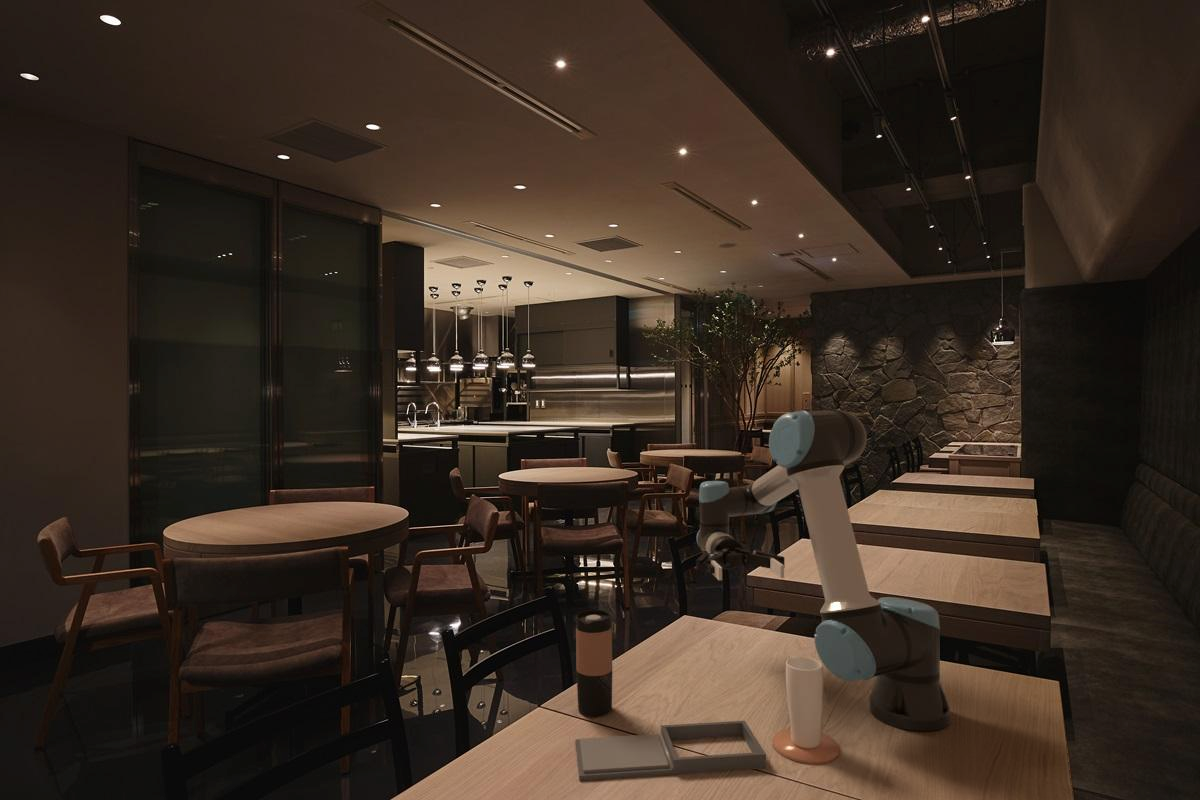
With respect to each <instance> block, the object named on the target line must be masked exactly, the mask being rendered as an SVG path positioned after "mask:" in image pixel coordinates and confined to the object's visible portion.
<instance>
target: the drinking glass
mask: <svg viewBox="0 0 1200 800" xmlns="http://www.w3.org/2000/svg"><path fill="white" fill-rule="evenodd" d="M785 689H786V697H787V698H786V699H787V707H788V713H789V714H788V715H789V716H788V717H789V726H790V728H791V740H792V742H793V743H794V744H795V745H797V746H799V747H801V748H807V749H811V748H815V747H817V746H819V744H820V740H821V739H820V732H821V729H822V715H823V714H822V713H823V701H824V700H823V697H824V668H823V663H822V661H820V660H818V659H815V658H813V657H808V656H794V657H790V658H788V659H787V660H786V661H785Z"/></svg>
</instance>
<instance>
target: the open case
mask: <svg viewBox="0 0 1200 800" xmlns="http://www.w3.org/2000/svg"><path fill="white" fill-rule="evenodd" d="M739 736H742V738H743V739H744V741H745V743H746V744H747V746H748V748H749V749H750V751H751V752H741V753H740V752H739V753H728V754H727V753H725V754H724V753H723V754H712V755H711V754H710V755H697V756H696V755H695V756H694V755H693V756H691V755H690V756H680V757H679V756H677V753H676V751H675V748H674V745H673V743H672V741H674V740H675V741H676V740H692V739H706V738H709V739H710V738H723V737H724V738H726V737H739ZM574 743H575V744H574V745H575V753H577V754H576V762H577V771H578V780H580V781H590V780H589V779H595V780H608V779H609V780H610V779H621V778H623V779H624V778H625V779H626V778H638V777H654V776H668V775H682V774H683V775H685V774H698V773H715V772H729V771H730V772H731V771H743V770H744V771H746V770H757V769H760V770H762V769H763V770H764V769H767V753H766V752H765V750H764V749H763V748H762V746H761V744H760V742H759V741H758V739H757V738H756V736H755V735H754V733H753V732H752V729H751V728H750V727H749V725H748V724H747V722H746V720H732V721H730V720H729V721H717V722H716V721H713V722H700V723H699V722H698V723H682V724H681V723H680V724H664V725H660V732H659V733H653V734H652V733H651V734H650V733H649V734H637V735H635V734H634V735H633V734H632V735H621V736H620V735H617V736H616V735H615V736H603V737H600V736H599V737H587V738H586V737H585V738H576V739H575V740H574Z"/></svg>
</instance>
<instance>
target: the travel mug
mask: <svg viewBox="0 0 1200 800" xmlns="http://www.w3.org/2000/svg"><path fill="white" fill-rule="evenodd" d="M612 630H613V629H612V615H611V613H610V612H608V611H605V610H599V609H590V610H589V609H588V610H584V611H580V612H578V613H577V614H576V617H575V638H576V639H575V641H576V642H575V650H576V651H575V652H576V653H575V655H576V656H575V657H576V659H575V660H576V663H575V664H576V665H575V666H576V689H577V691H576V692H577V709H578V712H579V713H580V715H582V714H583V716H584V715H585V716H584V717H588V716H589V717H588V718H598V716H601V717H604V716H603V715H605V716H607V715H608V713H609V712H610V711H611V712H612V708H613V639H612V638H613V637H612V636H613V635H612ZM611 712H610V713H611ZM610 713H609V714H610ZM606 714H607V715H606Z"/></svg>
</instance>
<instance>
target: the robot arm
mask: <svg viewBox="0 0 1200 800" xmlns="http://www.w3.org/2000/svg"><path fill="white" fill-rule="evenodd" d="M867 440H868V438H867V431H866V429H865V426H864V424H863V422H862V421H861V420H860V419H859V418H858V417H857V416H855V415H854V414H852V413H851V412H849V411H846V410H841V409H832V410H804V409H803V410H798V411H793V412H792V411H791V412H787V413H784V414H782V415H780V417H778V418H777V420H775V422H774V423H773V426H772V429H771V430H770V433H769V438H768V450H769V453H770V456H771V458H772V460H773V461H774V462H775V463H776V464H777V465H776V466H775V467H774V468H772V469H771V470H769V471H767V472H766V473H765V474H763V475H762V476H760V477H759V478H757V479H756V480H755V481H753V482H751V483H750V484H748V485H746V486H736V487H735V486H733V487H729V483H728V482H727V481H722V480H707V481H703V482H701V483H700V485H699V493H698V501H699V530H698V531H697V533H696V543H697V545H698V547H699V549H700V550H701V552H702V554H701V555H699V557H698V558H697V559H696V572H698V573H701V572H702V571H703V570H704V572H705V573H704V575H705V576H711V575H713V576H714V577H715V578H716V579H717V580H718V581H723V570H732V569H735V568H737V567H740V566H742V567H743V566H744V567H752V566H754V567H759V568H765V569H770V571H771V572H772V573H773V574H775V575H776V576H777V577H779V578H780V579H785V563H786V562H785V557H784V556H782V555H779V554H774V553H770V552H766V551H762V550H759V549H757V548H755V549H753V551H752V550H746V549H744V547H743V545H742V544H741V543H740V541H738V540H736V539H735V538H734V537H733V536H731V535H730V517H732V518H733V517H738V516H739V517H740V516H749V515H750V516H751V515H762V514H765V513H770V512H773V511H774V509H775V507H776V505H777V504H778V502H779V501H781V500H782V499H784V498H786V497H788V496H789V495H791V494H792V493H794V492H796V491H797V490H798V493H799V497H800V501H801V505H802V510H803V514H804V517H805V522H806V526H807V529H808V535H809V538H810V539H809V540H810V543H811V546H812V547H811V548H812V551H813V555H814V559H815V563H816V567H817V571H818V575H819V579H820V584H821V588H822V592H823V593H822V594H823V596H824V604H823V605H822V607H821V609H820V611H819V612H820V617H821V621H822V622H820V623H819V625H817V626H816V629H815V633H814V636H813V637H814V638H813V639H814V641H813V642H814V645H815V651H816V653H817V655H818V657H819V659H820V662H821V664H822V665H824V667H825V668H826V669H827V670H828V671H830V672H831V674H832V675H833V676H834V677H836V678H838V679H840V680H842V681H845V682H849V683H850V682H858V681H869V680H871V679H873V678H874V677H875V680H874V682H873V685H872V688H871V692H870V694H869V698H868V699H869V700H868V701H869V702H868V704H869V711H870V713H871V714H872V715H873V716H874V717H875V718H876V719H878V720H879V721H880V722H883V723H885V724H887V725H891V726H893V727H895V728H899V729H903V730H907V731H915V732H935V731H939V730H943V729H945V728H946V727H948V726H949V725H950V722H951V711H950V705H949V704H948V703H949V702H948V700H947V698H946V694H945V692H944V688H943V687H942V683H941V672H940V671H941V667H940V666H941V665H940V663H941V659H940V656H941V654H940V653H941V652H940V648H941V647H940V646H941V645H940V638H941V637H940V630H941V626H940V619H939V618H940V617H939V616H940V615H939V613H938V611H937V610H936V608H934V607H933V606H931V605H930V604H926V603H923V602H920V601H917V600H912V599H907V598H903V597H902V598H901V597H892V596H891V597H889V596H887V597H885V596H884V597H880V598H878V599H876V598H875V597H873V596H872V595H871V594H870V591H869V587H868V584H867V580H866V576H865V573H864V568H863V564H862V561H861V556H860V552H859V549H858V545H857V541H856V537H855V533H854V529H853V526H852V522H851V517H850V515H849V510H848V505H847V502H846V498H845V495H844V490H843V487H842V483H841V478H840V476H841V474H842V473H843V471H844V469H845V467H846V466H847V465H849V464H850V463H853V462H854V461H855V460H856V459H858V458H859V457H860V456H861V455H862V453H863V452H864V450H865V448H866V445H867ZM948 724H949V725H948Z"/></svg>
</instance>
